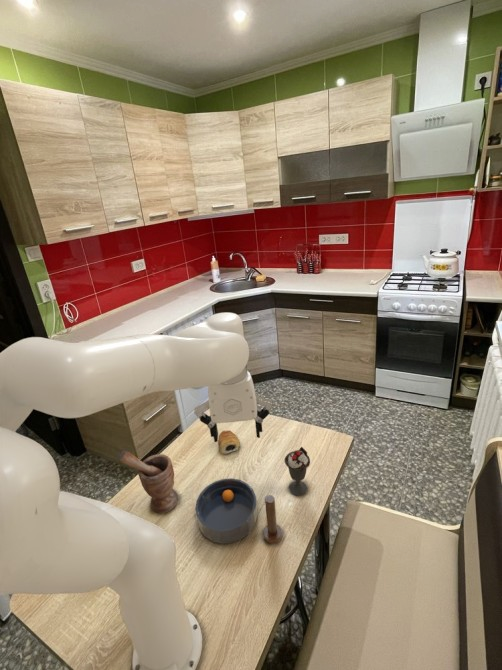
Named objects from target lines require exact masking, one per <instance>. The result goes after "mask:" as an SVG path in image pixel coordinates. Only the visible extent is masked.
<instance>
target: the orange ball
mask: <svg viewBox="0 0 502 670" xmlns="http://www.w3.org/2000/svg"><path fill="white" fill-rule="evenodd" d="M233 497H234V494H233V492H232V491H231V490H225V491H224V492H223V494H222V498H223V500H224V501H225V502H230V501H232V499H233Z"/></svg>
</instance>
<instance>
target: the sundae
mask: <svg viewBox="0 0 502 670" xmlns="http://www.w3.org/2000/svg"><path fill="white" fill-rule="evenodd" d="M284 463H285V466H286V467H287V468H288V473H289V476H290V478H291V480H293V481H292V482H290V483H289V486H288V489H289V492H290V493H291V494H292V495H294V496H303V495H305V494H306V493H307V491H308V486H307V484H306V483H305V482H304V481H303V480H305V477H306V474H307V470H308V468H309V467H310V465H311V459H310V456H309V455H308V452H307V450H305V448H304V447H303V446H300V448H299V449H296V450H293V451H291V452H288V453H287V455H286V456H285V457H284Z"/></svg>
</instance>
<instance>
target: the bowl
mask: <svg viewBox="0 0 502 670" xmlns="http://www.w3.org/2000/svg"><path fill="white" fill-rule="evenodd" d="M225 490H231V491H232V492H233V494H234V497H233V499H232V501H230V502H225V501H224V500H223V498H222V494H223V492H224V491H225ZM256 495H257V494H256V493H255V491H254V488H252V487H251V485H250V484H248V483H247V482H245V481H243V480H241V479H237V478H221V479H219V480H215V481H213V482H212V483H210V484H208V485H207V486H206V487H205V488H204V489H203V490H201V492H200V493H199V495H198V497H197V499H196V501H195V506H194V507H195V509H194V510H195V515H196V519H197V524H198V529H199V530H200V532H201V533H202V535H203V537H205V538H206V539H207V540H210V541H211V542H213V543H218V544H232V543H236V542H238V541H241V540H242V539H243V538H245V537H246V536H247V535H249V534H250V533H251V531H253V529H254V528H255V525H256V524H257V520H258V517H259V516H258V502H257V501H258V500H257V496H256Z"/></svg>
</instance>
